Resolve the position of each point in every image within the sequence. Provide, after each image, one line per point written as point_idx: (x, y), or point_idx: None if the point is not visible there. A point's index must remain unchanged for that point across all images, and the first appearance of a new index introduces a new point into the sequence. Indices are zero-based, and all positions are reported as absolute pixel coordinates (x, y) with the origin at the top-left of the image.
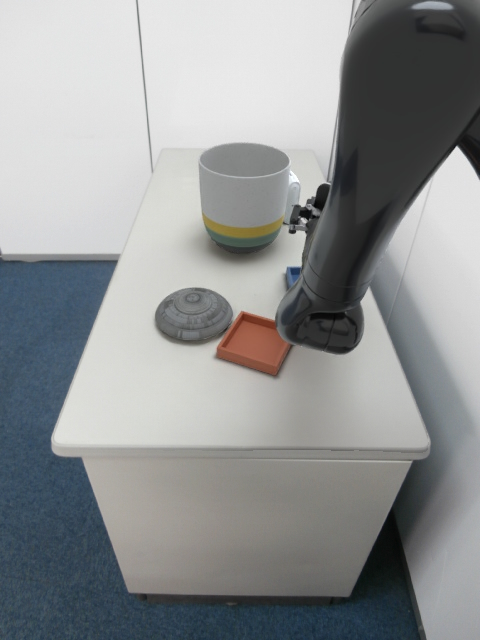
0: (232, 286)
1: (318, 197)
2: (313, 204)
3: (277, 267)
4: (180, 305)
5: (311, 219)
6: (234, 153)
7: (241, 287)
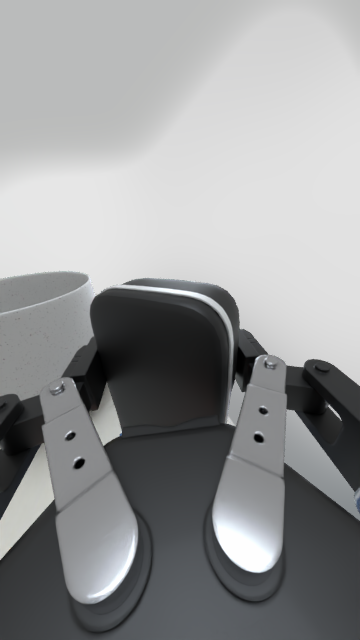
0: (16, 520)
1: (103, 340)
2: (85, 372)
3: (110, 429)
4: None
5: (13, 548)
6: (25, 289)
7: (35, 516)
